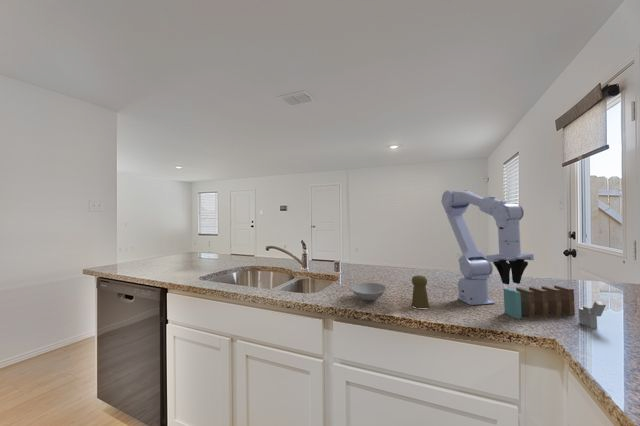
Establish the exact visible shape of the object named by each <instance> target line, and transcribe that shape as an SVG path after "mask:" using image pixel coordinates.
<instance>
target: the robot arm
mask: <svg viewBox="0 0 640 426" xmlns="http://www.w3.org/2000/svg"><path fill="white" fill-rule="evenodd" d="M440 201H441V205H442V207H443V209H444V212H445V214H446V217H447V219H448V222H449V224H450V226H451V229H452V231H453V234H454V236H455V239H456V241H457V244H458V246H459V249H460V250H461V251H460V252H461V255H460V257H459V258H458V263H459V271H460V272H461V274H462V275H463V277H461V278H459V280H458V284H457V285H458V287H457V288H458V297H457V300H460V301H461V302H463V303H465V304H467V305H469V306H474V305H486V304H487V305H491V304H495V303H496V302H495V301H492V300H490V299H489V279H490V276H491V275H492V273H493V270H494V268H493V267H494V266H495V268H496V270H497V272H498V273H499V274H498V275H499V276H500V280H501V282H502V284H503V285H504V284H505V285H510V283H511V282H510V273H511V279H512V283H514V284H516V285H520V284H521V280H522V277H523V274H524V272H525V270H526V268H527V267H528V265H529V262H528V261H534V254H533V253H521V234H520V233H521V229H520V221H521V220H522V219H523V217H524V209H523V207H522V205H520V204H518V203H517V202H515V203H513V202H512V203H508V202H507V200H500V199H498V198H496V196H494V195H488V196H486V197H482V196H481V195H478V194H476V193H473V192H472V191H470V190H466V189H465V190H445V191H443V193H442V195H441V200H440ZM470 205H473V206H476V207H478V208H479V210H480V212H483V213H485V214H488V215H489V216H491V217H493V219H494V221H495V225H496V227H497V234H498V253H495V254H490V255H489V254H488V255H486V254H485V253H483V252H482V251H479V249H478V248H477V246H476V244H475V240H474V239H473V236H472V235H471V232H470V229H469V227H468V225H467V223H466V221H465V219H464V217H463V214H464V213H466V212H467V209H468V208H469V206H470Z"/></svg>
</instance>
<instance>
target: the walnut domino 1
mask: <svg viewBox="0 0 640 426" xmlns="http://www.w3.org/2000/svg"><path fill="white" fill-rule="evenodd" d="M515 289H516V290H515V291H518V292H520V295H521V314H522V315H523V316H526V317H527V318H536V313H535V308H534V291H531V290H529V288H528V289H527V288H524V287H516V288H515Z"/></svg>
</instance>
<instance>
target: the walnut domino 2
mask: <svg viewBox="0 0 640 426" xmlns="http://www.w3.org/2000/svg"><path fill="white" fill-rule="evenodd" d="M528 290H531V291H534V308H535V315H536V314H537V315H539V316H541V317H542V318H543V317H549V313H548V299H547V290H543V289H542V288H540V287H536V286H528Z"/></svg>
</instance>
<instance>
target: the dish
mask: <svg viewBox="0 0 640 426" xmlns="http://www.w3.org/2000/svg"><path fill="white" fill-rule="evenodd" d="M350 291H351V292H353V294H354V295H355V296H356V297H358V298H359V299H361V300H365V301H368V300H371V301H372V300H376V299H378V298H380V297H381V296H383V294H385V292H387V291H388V286H387V285H385V284H383V283H379V282H371V281H370V282H366V281H365V282H358V283H355V284H352V285H351V286H350Z"/></svg>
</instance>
